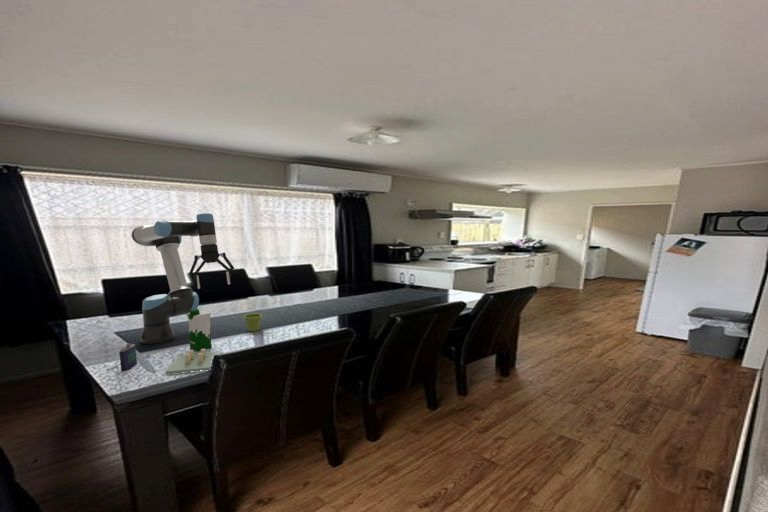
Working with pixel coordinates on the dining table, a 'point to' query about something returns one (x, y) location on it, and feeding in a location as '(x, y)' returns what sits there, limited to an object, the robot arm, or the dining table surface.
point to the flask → (128, 357)
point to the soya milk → (199, 330)
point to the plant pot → (253, 321)
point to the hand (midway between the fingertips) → (214, 286)
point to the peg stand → (192, 362)
